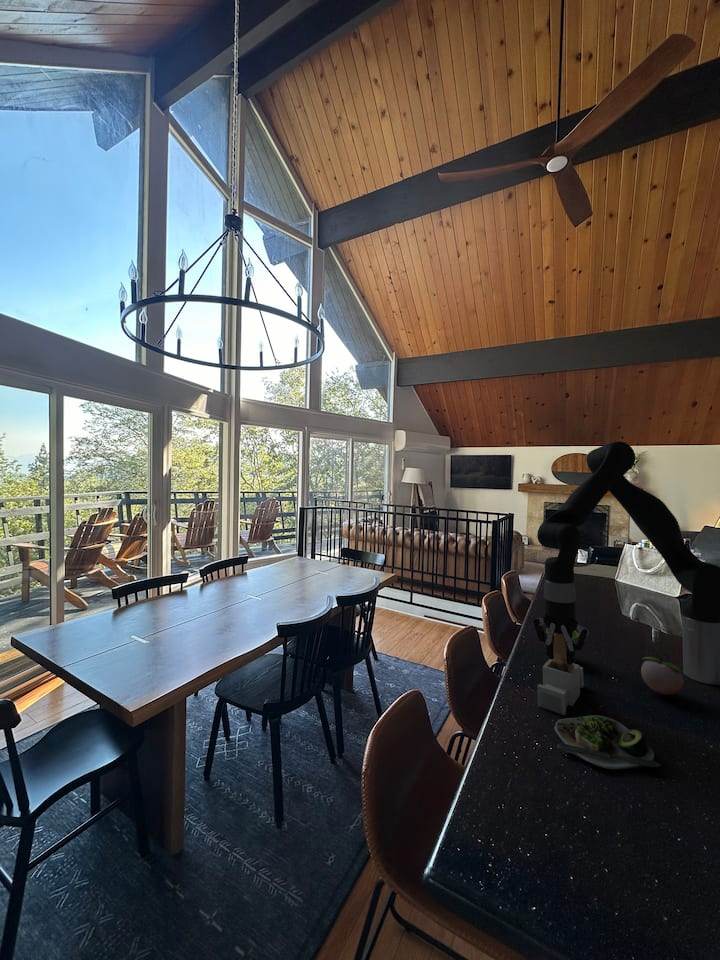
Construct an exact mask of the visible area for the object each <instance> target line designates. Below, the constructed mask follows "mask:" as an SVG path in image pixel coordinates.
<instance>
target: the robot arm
mask: <svg viewBox="0 0 720 960" xmlns="http://www.w3.org/2000/svg"><path fill="white" fill-rule="evenodd" d="M635 461H636V454H635V451H634V449H633V447H632V446H631V445H630V444H629V443H627V442H624V441H619V440H618V441H612V442H610V443H608V444H605V445H602V446H599V447H597V448H594V449H592V450H591V451H589V452H588V454H587V456H586V464H587V467H588V469H589V471H590V472H591V474H592V475H591V476H589V477H588V478H587V479H586V480H584V482H582V483H581V484H580V485H579V486H578V487H576V488H575V489H574V490H572V493H570V495H569V496H568V497H567V499H566V500H565V502H564V503H563V504H562V506H561V507H560V508H559V509H558V510H557V511H555V512H554V513H552V514H551V515H550V516H549V517H547V518H546V519H545V520H544V521H543V522H542V523H541V524H540V526H539V528H538V530H537V533H536V534H537V535H536V537H537V541H538V543H539V544H540V545H541V546H543V547H544V548H548V549H555V550H558V551H559V552H558V553H557V556H552V557H548V558H546V559H545V560H544V587H543V588H544V589H543V595H544V597H543V599H544V600H543V601H544V615H543V617H539V616H537V617H535V618H534V619H533V620H532V624H533V625H534V628H535V631H536V635H537V638H538V640H539V642H541V643H542V642H543V643H545V644H546V656H547V657H548V660H549V659H551V660H552V659H553V641H552V638H553V633H554V632H558V633H562V634H563V635H564V638H565V641H566V642H567V645H568V648H569V650H568V664H570V665H572V664H573V663H574V664H575V662H576V661H577V651H581V650H583V648H584V647H585V643H586V641H587V639H588V636H589V633H590V628H589V627H587V626H585V627H584V626H582V625H580V624H579V622H578V621H577V607H576V605H577V603H576V602H577V601H576V600H577V599H576V587H575V569H574V568H575V565H576V564H575V563H576V560H577V556H578V552H579V549H580V546H581V542H582V537H581V532H580V531H579V529H578V528H577V527H581V526H584V524H585V523H586V522H587V520H588V519H589V517H590V516H591V515H592V514H593V512H594V511H595V509H596V508H597V506H598V505H599V504H600V502H601V501H602V499H603V498H604V497H605V496H606V495H607V494H608V492H610V494H611V495H612V496H613V497H614V499H615V500H616V501H617V502H618V503H619V504H620V505H621V507H622V508H623V509H624V510H625V512H626V513H627V514H628V516H629V517H630V518H631V520H632V521H633V522H634V524H635V525H636V526H637V527H638V529H639V530H640V531H641V532H642V534H643V535H644V536H645V537H646V538H647V540H648V541H649V542H650V544H651V545H652V546H653V548H655V550H656V551H657V552H658V553H659V554H660V556H661V557H662V559H663V560H664V562H665V563H666V566H668V569H669V570H670V571H671V573H672V575H673V576H674V578H675V579H676V581H677V582H678V583H679V584H680V585H681V586H682V587H683V588H684V589H687V590H688V591H691V601H690V602H688V603H684V604H683V605H682V608H681V615H682V616H681V617H682V618H681V619H682V620H681V621H682V622H681V623H682V624H681V625H682V628H681V629H682V662H683V663H682V673H683V674H684V676H686V677H688V678H689V679H691V680H693V681H696V682H699V683H703V684H707V685H713V686H714V685H715V686H717V685H718V686H720V566H719V565H715V564H713V563H709V562H706V561H703V560H700V559H699V558H698V557H697V556H696V555H695V554H694V553H693V551H692V550H690V548H689V547H688V546H687V545H686V543H685V541H684V540H683V537H682V532H681V531H682V530H681V528H680V525H679V521H678V519H677V518H676V516H675V515H674V514H673V513H672V511H671V510H670V508H668V506H667V505H666V503H665V502H664V501H662V500H661V499H660V498H659V497H657V496H655V495H654V494H652V493H651V492H648V491H646V490H644V489H643V488H640V487H639V486H636V485H635V484H634V483H632V482H631V481H630V480H629V479H627V477H626V476H625V475H626V474H627V473H628V472H629V471H630V470H631V468H633V466H634V465H635V463H636V462H635ZM544 624H545V626H546V628H547V629H549V632H548V634H547V635H546V631H545V629H544ZM576 630H577V631H578V632H577V633H578V634H579V637H578V638H579V639H578V640H577V643H576V644H575V641H574V635H573V632H574V631H576Z"/></svg>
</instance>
